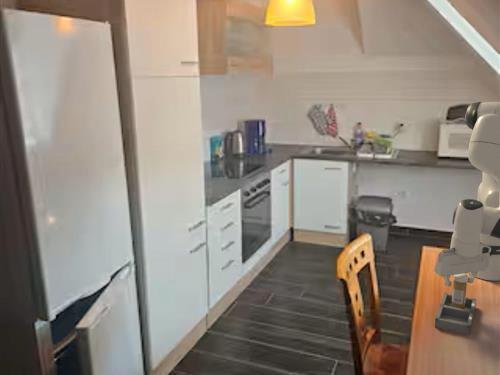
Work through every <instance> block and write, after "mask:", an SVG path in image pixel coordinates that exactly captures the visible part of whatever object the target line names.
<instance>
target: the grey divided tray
mask: <svg viewBox="0 0 500 375" xmlns="http://www.w3.org/2000/svg"><path fill="white" fill-rule="evenodd" d="M476 303H477V299H476V298H473V297H472V298H471V297H469V296H468V297H467V296H466V301H465V309H461V308H456V307H451V306H452V293H446V292H444V293H443V297H442V300H441V303H440V305H439V308H438V310H437V314H436V317H435V321H434V322H435V323H434V328H438V329H442V330H446V331H451V332H453V333H454V332H456V333H459V334H464V335H466V336H467V335H468V336H470V334H471V329H472V325H473V319H474V315H475V311H476Z"/></svg>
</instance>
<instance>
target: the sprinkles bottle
mask: <svg viewBox="0 0 500 375" xmlns="http://www.w3.org/2000/svg"><path fill="white" fill-rule="evenodd" d="M452 277H453V282H452V283H453V285H452V293H451V294H452V306H451V307H456V308H461V309H465V301H466V297H467V285H468V284H467V283H468V282H467V281H468V277H469V275H468V274H467V273H464V274H457V275H452Z"/></svg>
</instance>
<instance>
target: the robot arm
mask: <svg viewBox="0 0 500 375" xmlns="http://www.w3.org/2000/svg"><path fill="white" fill-rule="evenodd" d="M464 117H465V124H466V126H467V127H468V128H469V129H470V130H472V131H471V135H470V139H469V142H468V143H469V144H468V150H467V158H468V161H469V162H470V164H471V166H473V167H474V168H475V169H477V170H478V171H481V172H482V173H481V174H482V175H481V176H482V180H481V182H480V184H479V186H478V188H477V199H472V198H467V199H466V198H465V199H463V200H461V201H459V203H458V206H457V207H456V208H454V211H453V216H452V221H451V222H452V225H453V228H454V230H453V233H452V235H451V241H450V248H448V249H447V248H446V249H445V248H444V249H442V250H441V251H440V252H438V254H437V257H436V260H435V265H434V268H433V271H434V273H435V274H436V275H437V276H440V277H442V278H443V280H444V286H445V287H447V288H448V287H451V286H452V283H453V282H452V281H451V280H450V278H451V276H454V275H457V274H468V281H467V283H468V284H473V283H474V280H475V278H478V279H481V280H487V281H496V282H497V281H498V282H499V281H500V101H484V102H482V101H476V102H472V103H471V104H470V105H468V107H467V109H466V112H465V116H464Z"/></svg>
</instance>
